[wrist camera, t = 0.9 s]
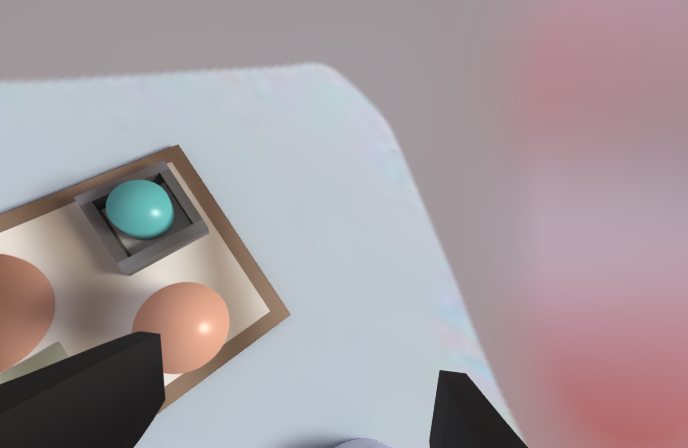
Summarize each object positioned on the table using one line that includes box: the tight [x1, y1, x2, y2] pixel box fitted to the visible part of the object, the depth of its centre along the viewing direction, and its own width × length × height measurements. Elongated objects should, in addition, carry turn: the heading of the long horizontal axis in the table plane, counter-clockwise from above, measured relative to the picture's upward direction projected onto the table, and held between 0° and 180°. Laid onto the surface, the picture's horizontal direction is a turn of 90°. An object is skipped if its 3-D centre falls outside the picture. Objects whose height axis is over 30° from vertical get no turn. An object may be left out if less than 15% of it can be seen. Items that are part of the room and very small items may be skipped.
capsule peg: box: [132, 282, 230, 374], centre depth 16 cm, size 4×4×7 cm
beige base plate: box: [0, 145, 291, 415], centre depth 17 cm, size 18×14×2 cm
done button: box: [106, 180, 175, 240], centre depth 18 cm, size 3×3×2 cm
